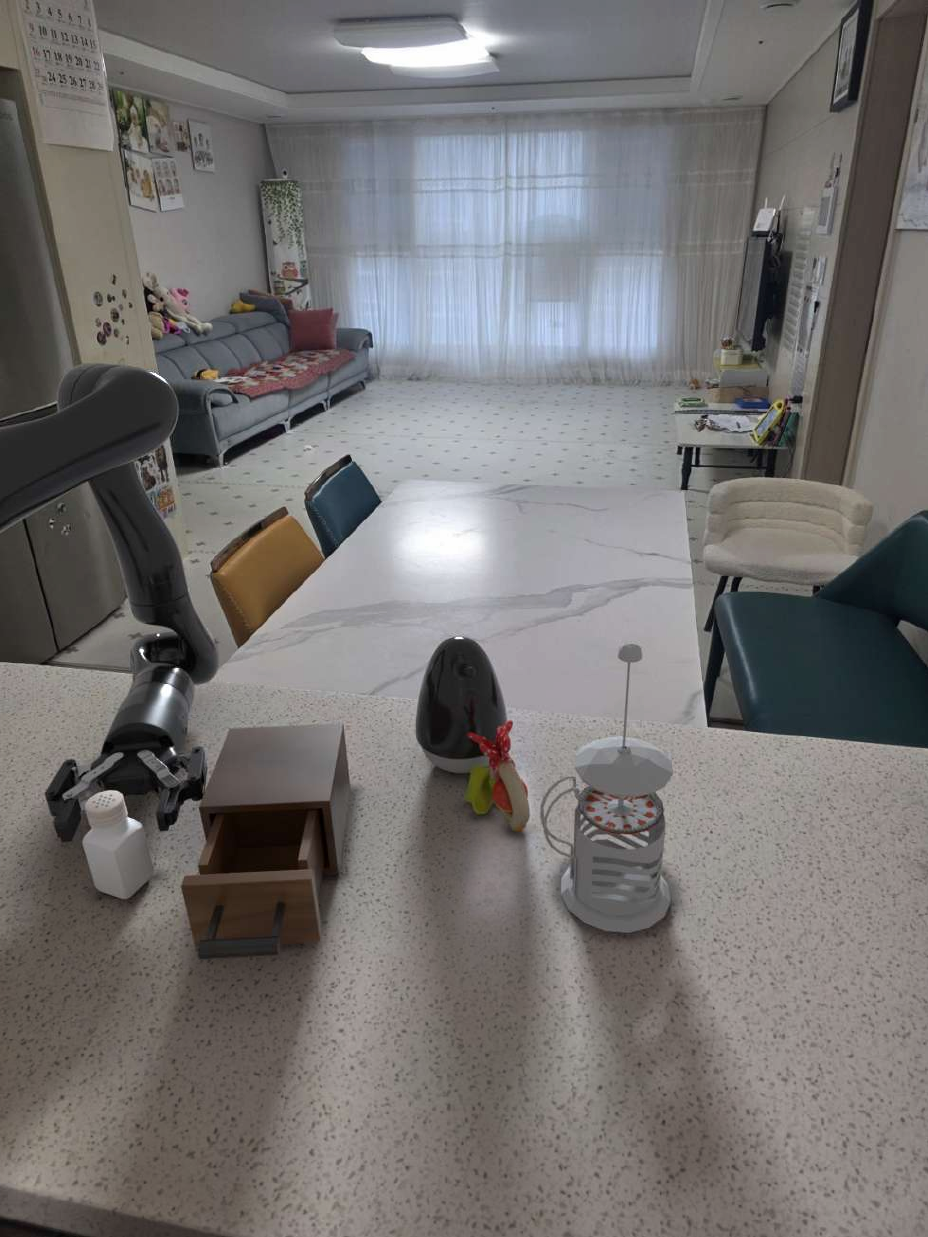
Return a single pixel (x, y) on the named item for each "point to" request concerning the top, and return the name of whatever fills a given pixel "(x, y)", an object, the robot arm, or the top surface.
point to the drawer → (257, 883)
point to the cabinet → (284, 778)
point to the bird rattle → (498, 780)
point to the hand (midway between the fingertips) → (113, 829)
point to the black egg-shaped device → (458, 705)
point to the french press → (617, 830)
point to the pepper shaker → (116, 846)
